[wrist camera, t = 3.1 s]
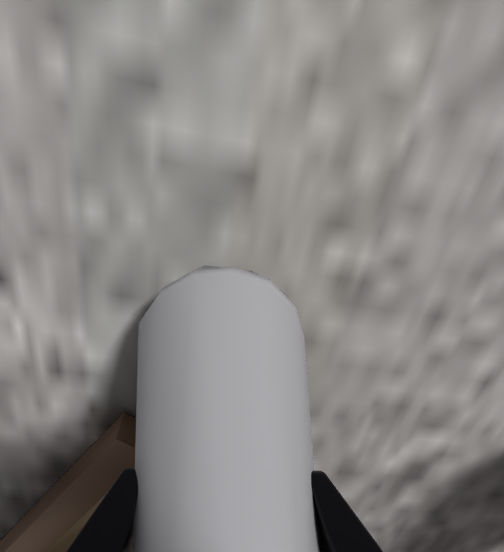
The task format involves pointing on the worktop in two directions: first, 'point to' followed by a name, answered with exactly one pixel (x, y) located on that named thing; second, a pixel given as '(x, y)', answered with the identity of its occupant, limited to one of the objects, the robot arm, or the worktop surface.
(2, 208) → the worktop surface
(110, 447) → the stand
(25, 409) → the worktop surface
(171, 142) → the worktop surface
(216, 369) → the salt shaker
